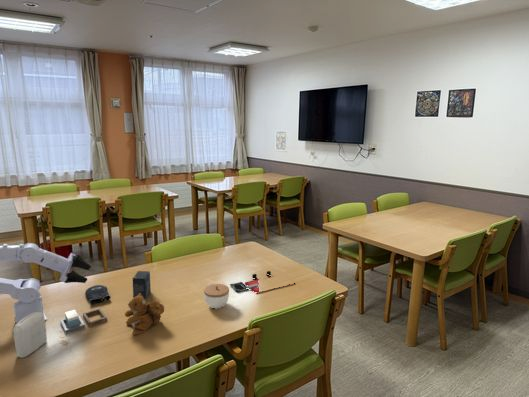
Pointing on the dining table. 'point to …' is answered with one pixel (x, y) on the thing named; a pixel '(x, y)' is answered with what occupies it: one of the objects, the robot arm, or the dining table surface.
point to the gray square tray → (72, 327)
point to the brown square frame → (91, 323)
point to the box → (141, 284)
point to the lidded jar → (216, 295)
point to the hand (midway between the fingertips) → (88, 274)
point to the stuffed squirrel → (143, 314)
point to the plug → (71, 319)
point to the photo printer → (29, 334)
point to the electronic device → (97, 294)
